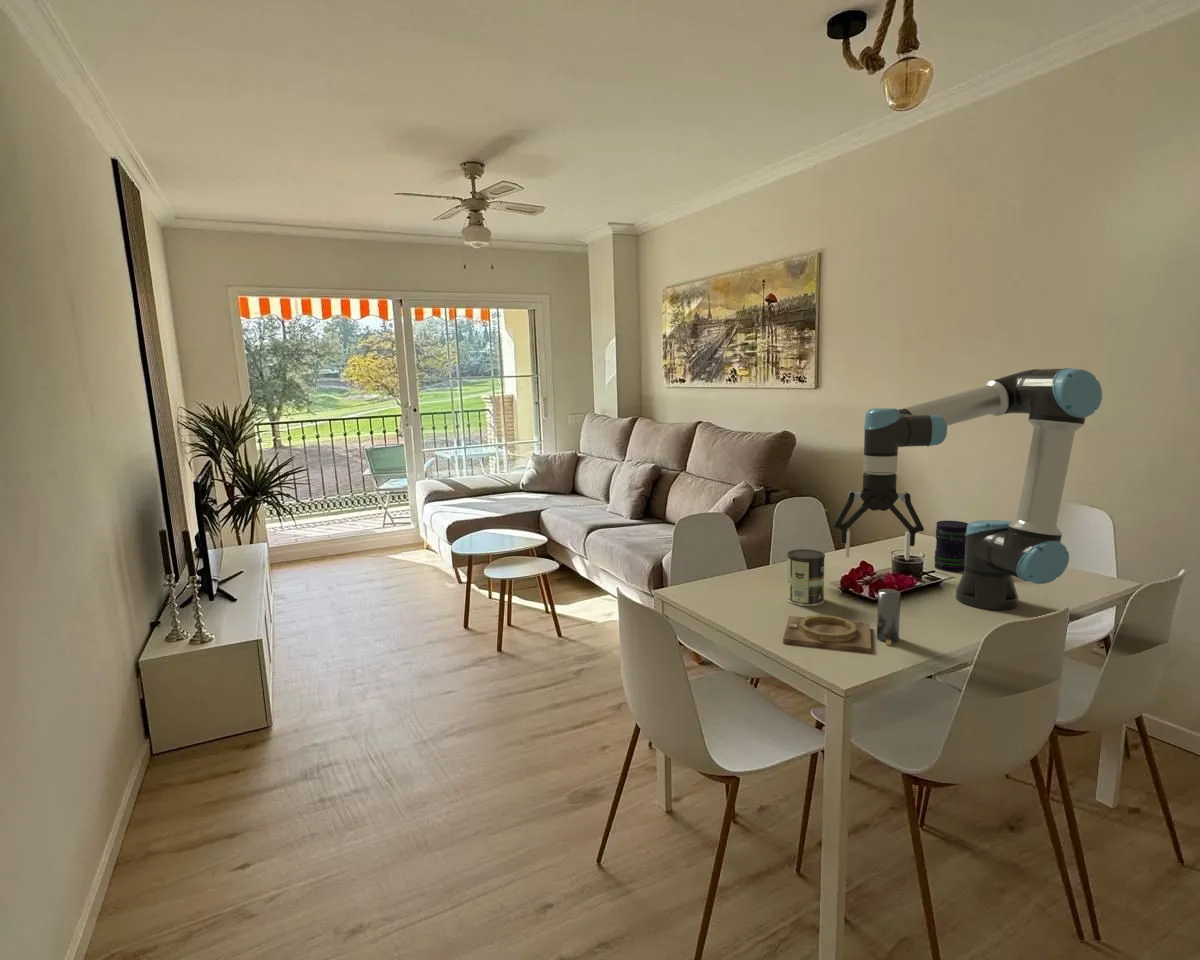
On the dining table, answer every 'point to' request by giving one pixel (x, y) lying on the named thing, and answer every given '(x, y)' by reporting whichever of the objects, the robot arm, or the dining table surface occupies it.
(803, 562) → the coffee can
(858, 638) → the board
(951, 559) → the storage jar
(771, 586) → the dining table surface
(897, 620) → the grey rounded cylinder
